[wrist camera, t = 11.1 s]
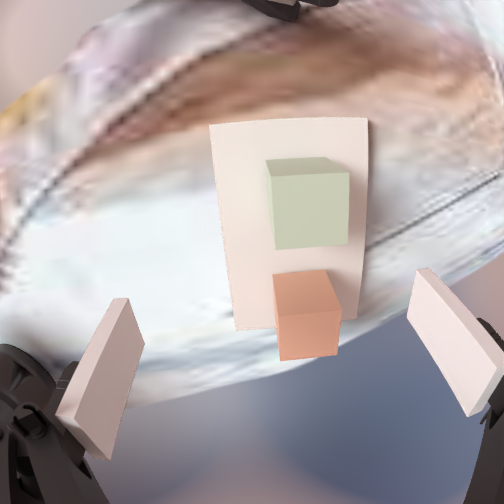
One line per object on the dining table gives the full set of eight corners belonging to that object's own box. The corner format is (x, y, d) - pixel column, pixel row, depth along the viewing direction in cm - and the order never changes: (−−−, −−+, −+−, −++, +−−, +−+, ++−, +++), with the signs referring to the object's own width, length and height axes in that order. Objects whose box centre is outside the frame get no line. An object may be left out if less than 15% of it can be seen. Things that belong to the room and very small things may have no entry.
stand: (236, 323, 36) (234, 381, 28) (210, 124, 26) (194, 131, 18) (353, 312, 35) (376, 364, 27) (362, 117, 26) (407, 124, 18)
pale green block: (269, 217, 28) (275, 250, 22) (265, 160, 25) (270, 176, 19) (326, 213, 28) (347, 244, 22) (325, 156, 25) (349, 172, 19)
